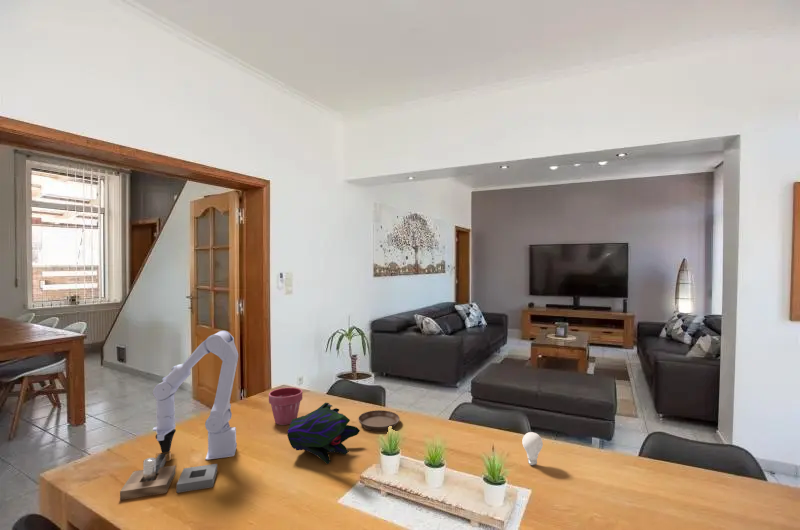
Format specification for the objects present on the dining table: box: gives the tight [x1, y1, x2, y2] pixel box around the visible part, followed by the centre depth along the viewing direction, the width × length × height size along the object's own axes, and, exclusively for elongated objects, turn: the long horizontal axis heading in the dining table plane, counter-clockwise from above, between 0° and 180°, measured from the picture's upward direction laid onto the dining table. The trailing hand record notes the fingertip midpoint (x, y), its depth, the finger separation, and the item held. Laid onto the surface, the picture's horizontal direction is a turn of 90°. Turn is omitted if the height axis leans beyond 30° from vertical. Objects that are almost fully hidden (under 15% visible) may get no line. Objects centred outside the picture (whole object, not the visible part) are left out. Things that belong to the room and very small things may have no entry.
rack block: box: [176, 463, 218, 493], centre depth 127 cm, size 10×10×2 cm
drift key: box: [154, 451, 172, 475], centre depth 136 cm, size 4×10×3 cm, turn 17°
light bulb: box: [521, 431, 544, 466], centre depth 136 cm, size 7×7×11 cm
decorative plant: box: [287, 402, 361, 465], centre depth 143 cm, size 21×26×30 cm
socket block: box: [119, 465, 177, 501], centre depth 125 cm, size 12×12×2 cm
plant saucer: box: [357, 409, 401, 432], centre depth 172 cm, size 18×18×3 cm
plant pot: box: [268, 387, 303, 426], centre depth 176 cm, size 14×14×13 cm
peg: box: [142, 457, 157, 482], centre depth 125 cm, size 3×3×8 cm
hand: (166, 452), depth 144 cm, fingers closed
